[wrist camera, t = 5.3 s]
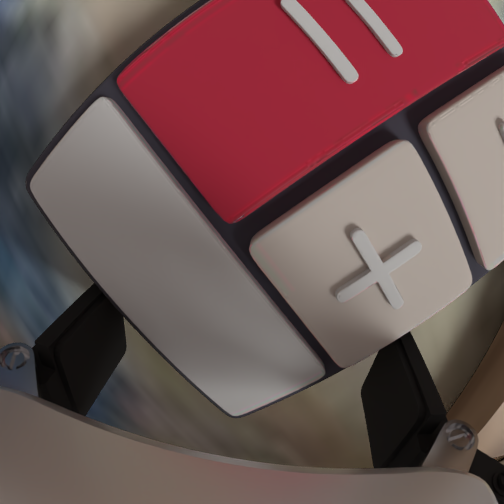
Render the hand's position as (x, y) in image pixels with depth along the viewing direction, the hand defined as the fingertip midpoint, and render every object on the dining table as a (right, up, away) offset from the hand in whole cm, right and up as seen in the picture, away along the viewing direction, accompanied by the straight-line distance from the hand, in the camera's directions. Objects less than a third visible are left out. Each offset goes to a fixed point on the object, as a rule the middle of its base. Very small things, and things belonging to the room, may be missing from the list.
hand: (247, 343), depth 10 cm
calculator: (+2, +6, 0) cm, 7 cm away
